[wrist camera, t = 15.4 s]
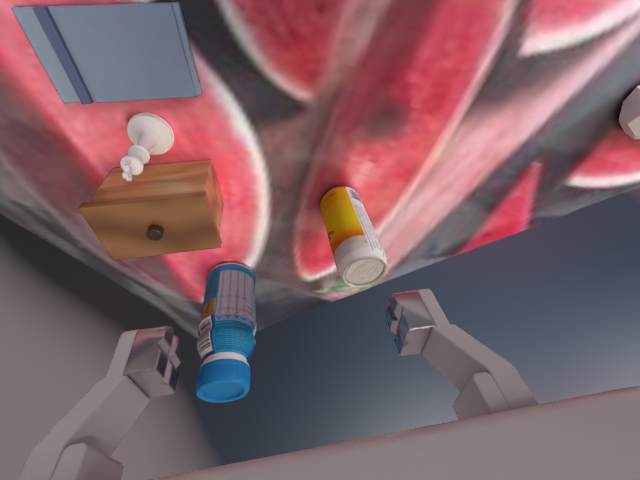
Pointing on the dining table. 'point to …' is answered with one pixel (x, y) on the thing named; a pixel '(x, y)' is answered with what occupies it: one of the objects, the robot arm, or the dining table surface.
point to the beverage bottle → (226, 333)
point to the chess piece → (145, 142)
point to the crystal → (631, 114)
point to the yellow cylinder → (352, 238)
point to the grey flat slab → (113, 50)
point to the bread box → (157, 210)
